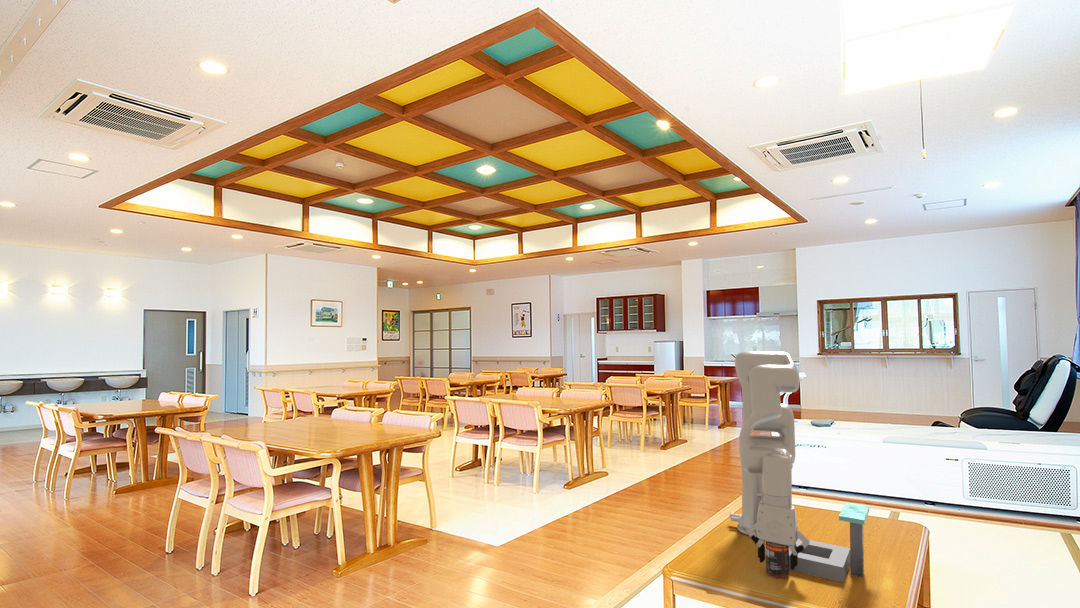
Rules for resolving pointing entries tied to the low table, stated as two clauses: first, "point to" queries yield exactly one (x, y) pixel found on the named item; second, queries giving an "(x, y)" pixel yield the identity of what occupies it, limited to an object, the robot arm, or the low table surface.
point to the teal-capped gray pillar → (855, 535)
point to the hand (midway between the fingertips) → (777, 564)
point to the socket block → (823, 560)
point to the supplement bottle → (777, 560)
